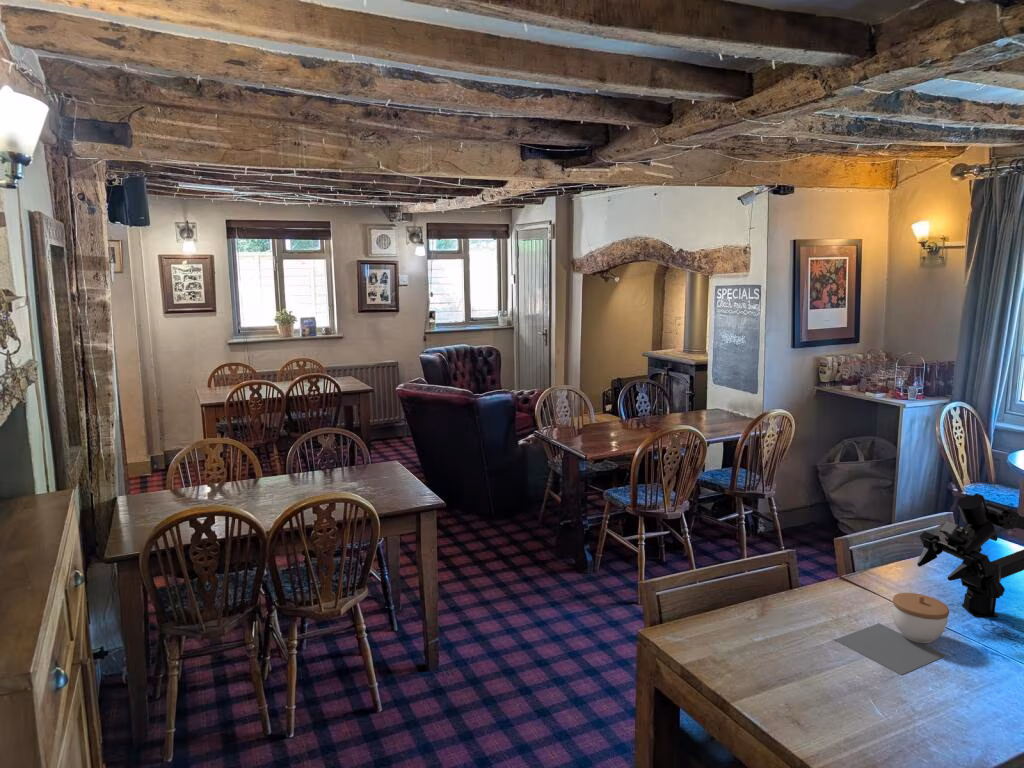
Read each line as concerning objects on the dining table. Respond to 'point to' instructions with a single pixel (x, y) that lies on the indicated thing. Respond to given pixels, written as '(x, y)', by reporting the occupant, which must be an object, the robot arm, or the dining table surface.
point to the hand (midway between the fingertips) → (932, 572)
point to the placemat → (890, 648)
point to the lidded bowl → (919, 616)
